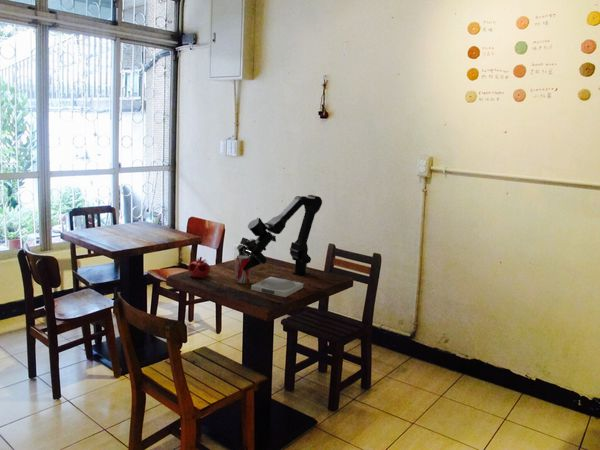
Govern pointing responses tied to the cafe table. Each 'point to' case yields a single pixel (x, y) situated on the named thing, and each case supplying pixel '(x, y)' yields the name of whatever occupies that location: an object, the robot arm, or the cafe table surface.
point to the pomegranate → (199, 268)
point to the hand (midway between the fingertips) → (239, 268)
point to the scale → (277, 286)
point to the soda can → (240, 274)
